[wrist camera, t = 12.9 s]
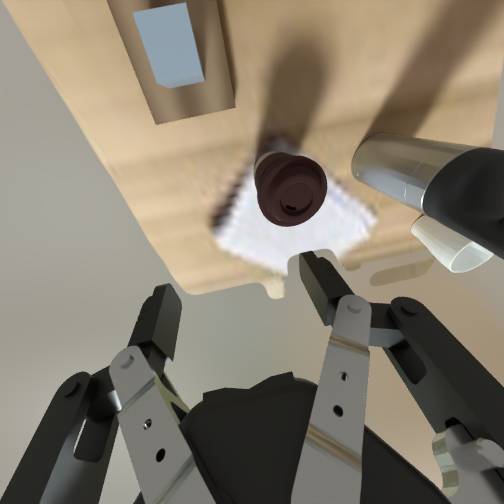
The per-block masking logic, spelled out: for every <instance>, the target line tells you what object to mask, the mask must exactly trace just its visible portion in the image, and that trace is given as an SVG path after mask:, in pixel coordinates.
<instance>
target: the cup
mask: <svg viewBox="0 0 504 504" xmlns="http://www.w3.org/2000/svg"><path fill="white" fill-rule="evenodd" d="M411 232H412V233H413V234H414V235H415V236H416V237H418V238H419V239H420V240H421V241H422V242H423V243H424V244H425V246H426V247H427V248H428V249H429V250H430V252H431V253H432V254H433V255H434V256H435V257H436V258H437V259H438V260H439V261H440V262H441V263H442V264H443V265H444V266H446V267H447V268H448V269H449V270H451V271H452V272H455V273H458V272H459V273H461V272H465V271H468V270H471V269H473V268H475V267H477V266H479V265H481V264H482V263H484V262H485V261H487V260H488V259H489V258H490V257H492V256H493V255H494V254H493V253H492V252H490V251H488V250H487V249H485V248H483V247H482V246H480V245H478V244H477V243H475V242H473V241H471V240H470V239H468V238H466V237H464V236H463V235H461V234H459V233H457V232H455V231H453V230H451V229H450V228H448V227H446V226H444V225H442V224H441V223H439V222H438V221H436V220H434V219H432V218H430V217H428V216H426V215H424V216H422V217H420V218H419V219H417V220H416V221H415V222H414V224H413V225H412V228H411Z"/></svg>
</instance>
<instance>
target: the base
mask: <svg viewBox="0 0 504 504" xmlns="http://www.w3.org/2000/svg"><path fill="white" fill-rule="evenodd" d="M185 2H186V5H187V9H188V12H189V16H190V20H191V23H192V27H193V31H194V35H195V40H196V44H197V48H198V53H199V57H200V61H201V66H202V70H203V74H204V78H205V81H204V82H199V83H194V84H189V85H184V86H179V87H174V88H167V87H164V86H162V85H160V84H157V82H156V79H155V76H154V73H153V70H152V68H151V65H150V62H149V59H148V56H147V53H146V50H145V47H144V45H143V42H142V39H141V36H140V33H139V30H138V27H137V25H136V22H135V19H134V16H133V13H132V12H137V11H143V10H148V9H153V8H159V7H164V6H169V5H174V4H180V3H185ZM107 3H108V5H109V8H110V10H111V13H112V15H113V18H114V21H115V23H116V26H117V28H118V31H119V33H120V36H121V38H122V41H123V43H124V46H125V48H126V51H127V53H128V56H129V58H130V61H131V63H132V66H133V68H134V71H135V73H136V76H137V78H138V81H139V83H140V86H141V88H142V91H143V94H144V96H145V99H146V101H147V104H148V106H149V109H150V111H151V114H152V116H153V119H154V121H155V124H156V125H158V124H162V123H167V122H171V121H176V120H181V119H185V118H190V117H195V116H199V115H204V114H209V113H213V112H218V111H222V110H227V109H232V108H236V107H235V102H234V96H233V90H232V85H231V79H230V74H229V68H228V62H227V57H226V51H225V45H224V40H223V34H222V29H221V23H220V17H219V12H218V6H217V1H216V0H107Z"/></svg>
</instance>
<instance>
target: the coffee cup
mask: <svg viewBox="0 0 504 504" xmlns="http://www.w3.org/2000/svg"><path fill="white" fill-rule="evenodd" d="M254 179H255V186H256V189H257V199H258V204H259V207H260V209H261V211H262V213H263V215H264V216H265V217H266V219H268V220H269V221H270V222H272V223H273V224H276V225H278V226H284V227H290V226H296V225H299V224H301V223H304V222H305V221H307V220H309V219H310V218H311V217H312V216H314V214H315V213H316V212H317V211H318V210H319V209H320V207H321V206H322V204H323V202H324V199H325V197H326V193H327V179H326V175H325V173H324V171H323V169H322V168H321V167H320V165H318V164H317V163H316V162H315V161H313V160H311V159H309V158H307V157H304V156H293V155H290V154H287V153H283V152H277V151H271V152H268V153H265V154H264V155H262V156H261V157H260V158H259V159H258V161H257V162H256V164H255V167H254Z"/></svg>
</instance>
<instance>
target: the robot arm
mask: <svg viewBox="0 0 504 504" xmlns="http://www.w3.org/2000/svg"><path fill="white" fill-rule="evenodd" d="M352 174H353V176H354V178H355V179H356V180H358V181H359V182H361V183H363V184H365V185H367V186H369V187H371V188H373V189H375V190H377V191H379V192H381V193H383V194H385V195H387V196H389V197H391V198H393V199H395V200H397V201H399V202H401V203H403V204H405V205H407V206H408V207H411V208H413V209H415V210H417V211H419V212H421V213H423V214H424V215H426V216H428V217H430V218H432V219H434V220H436V221H438V222H439V223H441V224H442V225H444V226H446V227H448V228H450V229H451V230H453V231H455V232H457V233H459V234H461V235H463V236H464V237H466V238H468V239H470V240H471V241H473V242H475V243H477V244H478V245H480V246H482V247H483V248H485V249H487V250H488V251H490V252H492V253H493V254H495V255H497V256H498V257H500V258H502V259H504V151H503V150H498V149H491V148H483V147H476V146H470V145H463V144H455V143H448V142H441V141H435V140H428V139H421V138H415V137H408V136H402V135H395V134H388V133H379V134H375V135H373V136H371V137H370V138H368V139H367V140H366V141H364V142H363V143H362V144H361V146H360V147H359V148H358V150H357V151H356V153H355V155H354V158H353V161H352ZM299 267H300V268H299V269H300V276H301V280H302V282H303V284H304V285H305V288H306V290H307V292H308V294H309V296H310V298H311V300H312V302H313V304H314V306H315V307H316V309H317V312H318V314H319V316H320V317H321V319H322V321H323V323H324V325H325V326H328V325H331V326H332V328H333V329H332V332H331V336H330V339H329V342H328V346H327V351H326V355H325V360H324V363H323V368H322V371H321V376H320V380H319V384H318V385H317V384H315V383H313V382H311V381H308V380H306V379H302V378H295V377H293V373H292V372H287V373H283V374H279V375H276V376H271V377H269V378H267V379H265V380H264V381H262V382H260V383H259V384H257V385H255V386H253V387H252V388H250V389H237V388H222V389H218V390H213V391H209V392H206V393H203V401H201V402H200V403H198V404H197V405H196V406H195V407H193V408H192V409H191V410H190V409H189V408H188V407H187V405H186V404H185V403H184V402H183V401H182V399H181V398H180V396H179V394H178V393H177V391H176V390H175V388H174V386H173V384H172V383H171V381H170V380H169V378H168V376H167V374H166V373H165V372H164V366H165V364H167V363H171V362H173V358H174V352H175V346H176V340H177V334H178V328H179V322H180V316H181V310H182V304H181V300H180V298H179V296H178V295H177V293H176V292H175V290H174V288H173V287H172V285H171V284H170V283H168V284H163V285H159V286H156V287H155V289H154V292H153V295H152V296H150V297H148V299H147V300H146V301H145V302H144V304H143V305H142V308H141V311H140V314H139V316H138V321H137V322H136V324H135V327H134V330H133V333H132V335H131V338H130V341H129V343H128V346H127V348H125V349H123V350H122V351H121V352H119V353H118V354H117V355H116V357H115V358H114V359H113V361H112V362H111V364H110V365H109V366H108V367H106V368H104V369H102V370H100V371H98V372H96V373H95V374H93V375H90V374H89V373H87V372H79V373H76V374H75V375H73V376H71V377H70V378H68V379H67V380H66V381H65V382H64V383H63V384H62V385H61V386H60V387H59V389H58V390H57V392H56V393H55V395H54V397H53V399H52V401H51V403H50V405H49V407H48V409H47V411H46V413H45V414H44V417H43V418H42V420H41V422H40V424H39V426H38V428H37V430H36V432H35V434H34V436H33V438H32V440H31V442H30V444H29V446H28V448H27V449H26V451H25V453H24V455H23V457H22V459H21V461H20V463H19V465H18V467H17V469H16V471H15V473H14V475H13V477H12V479H11V481H10V482H9V485H8V486H7V489H6V490H5V492H4V494H3V496H2V498H1V500H0V504H98V503H99V500H100V496H101V492H102V488H103V484H104V480H105V476H106V473H107V468H108V465H109V461H110V457H111V453H112V450H113V446H114V442H115V438H116V434H117V430H118V426H119V424H120V427H121V430H122V434H123V436H124V440H125V443H126V446H127V449H128V452H129V455H130V458H131V461H132V464H133V467H134V470H135V473H136V477H137V480H138V483H139V485H140V489H141V492H140V493H139V495H138V497H137V499H136V500H135V502H134V503H133V504H504V387H503V386H502V385H501V384H500V383H499V382H498V381H497V380H496V379H495V378H494V377H493V376H492V375H491V374H490V373H489V372H488V371H487V370H486V369H485V368H484V367H483V365H482V364H481V363H480V362H479V361H478V360H476V359H475V357H474V356H472V354H471V353H470V352H469V351H468V350H467V349H466V348H465V347H464V346H463V345H462V344H461V343H460V342H459V341H458V340H457V339H456V338H455V337H454V336H453V335H452V334H451V333H450V332H449V331H448V329H447V328H446V327H445V326H444V325H443V324H442V323H441V322H440V321H439V320H438V319H437V318H436V317H435V316H434V315H433V314H432V313H431V312H430V311H429V310H428V309H427V308H426V307H425V306H424V305H423V304H422V303H420V302H419V301H417V300H415V299H412V298H408V297H397V298H395V299H393V300H392V301H391V304H383V303H370V302H367V301H366V300H365V299H363V298H362V297H360V296H357V295H355V294H354V293H353V292H352V290H351V289H350V288H349V286H348V285H347V284H346V282H345V281H344V280H343V278H342V277H341V276H340V274H338V272H337V271H336V269H335V268H334V266H333V265H332V264H331V262H330V261H328V260H327V259H325V258H323V257H320V258H317V257H316V255H315V254H314V252H313V251H308V252H304V253H300V254H299ZM368 346H378V347H382V348H383V350H384V351H385V353H386V354H387V356H388V357H389V359H390V361H391V362H392V364H393V366H394V367H395V369H396V370H397V372H398V374H399V375H400V377H401V378H402V380H403V382H404V383H405V384H406V386H407V388H408V390H409V391H410V393H411V394H412V396H413V397H414V399H415V401H416V402H417V404H418V405H419V407H420V409H421V410H422V412H423V413H424V415H425V417H426V418H427V420H428V421H429V423H430V424H431V426H432V427H433V429H434V431H435V432H436V435H435V436H434V438H433V440H432V449H433V453H434V456H435V459H436V461H437V463H438V465H439V467H440V470H441V473H442V477H443V487H442V491H441V490H439V488H438V487H436V486H435V484H434V483H433V482H431V481H430V480H429V479H428V478H427V477H426V476H424V475H423V474H422V473H421V472H420V471H419V470H417V469H416V468H415V467H414V466H413V465H412V464H410V463H409V462H408V461H407V460H406V459H404V458H403V457H402V456H401V455H400V454H399V453H398V452H396V451H395V450H394V449H393V448H392V447H391V446H389V445H388V444H387V443H386V442H384V441H383V440H382V439H381V438H380V437H379V436H378V435H376V434H375V433H374V432H373V431H372V430H370V429H369V428H368V427H367V426H366V425H365V424H364V419H365V408H366V396H367V384H368V372H369V360H370V352H369V350H368ZM84 419H86V423H85V425H84V428H83V431H82V434H81V436H80V439H79V441H78V444H77V447H76V450H75V452H74V454H73V451H74V450H73V449H74V446H75V443H76V440H77V437H78V435H79V432H80V430H81V427H82V424H83V421H84Z"/></svg>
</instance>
